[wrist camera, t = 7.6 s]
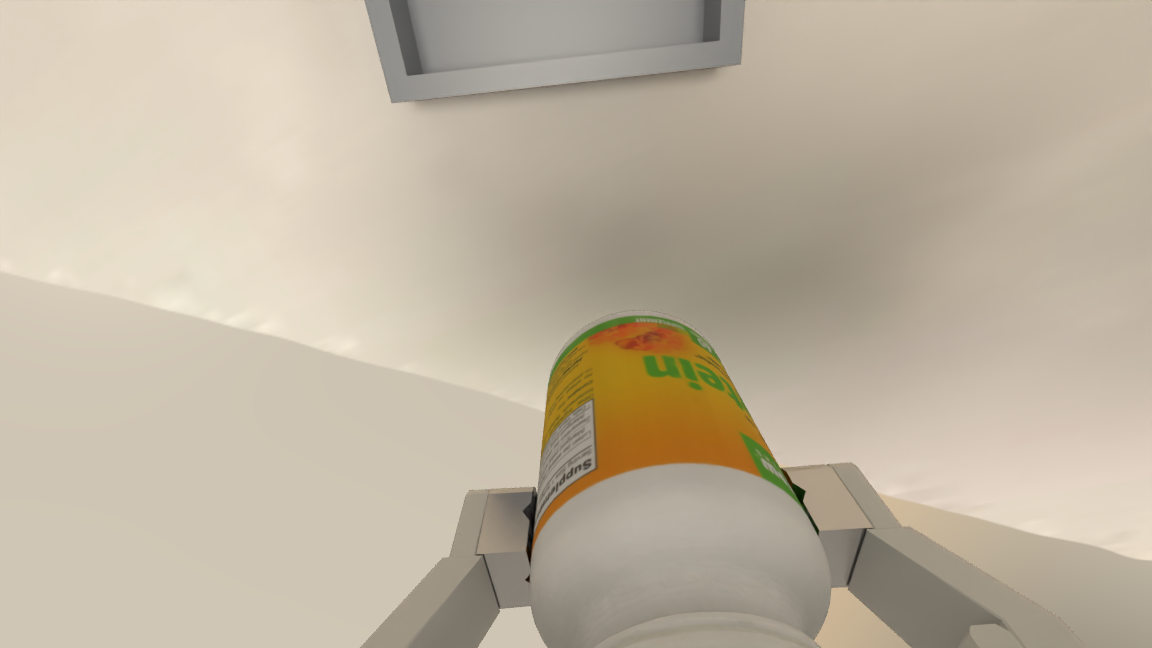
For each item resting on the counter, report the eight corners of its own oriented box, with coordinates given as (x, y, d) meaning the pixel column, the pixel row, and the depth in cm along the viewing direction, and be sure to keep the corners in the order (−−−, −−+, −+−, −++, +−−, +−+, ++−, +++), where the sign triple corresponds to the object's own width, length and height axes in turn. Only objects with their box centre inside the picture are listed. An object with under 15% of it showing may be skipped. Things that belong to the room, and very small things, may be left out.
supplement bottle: (754, 356, 14) (1064, 791, 5) (654, 470, 16) (750, 918, 7) (606, 272, 13) (679, 653, 4) (518, 406, 15) (434, 854, 6)
